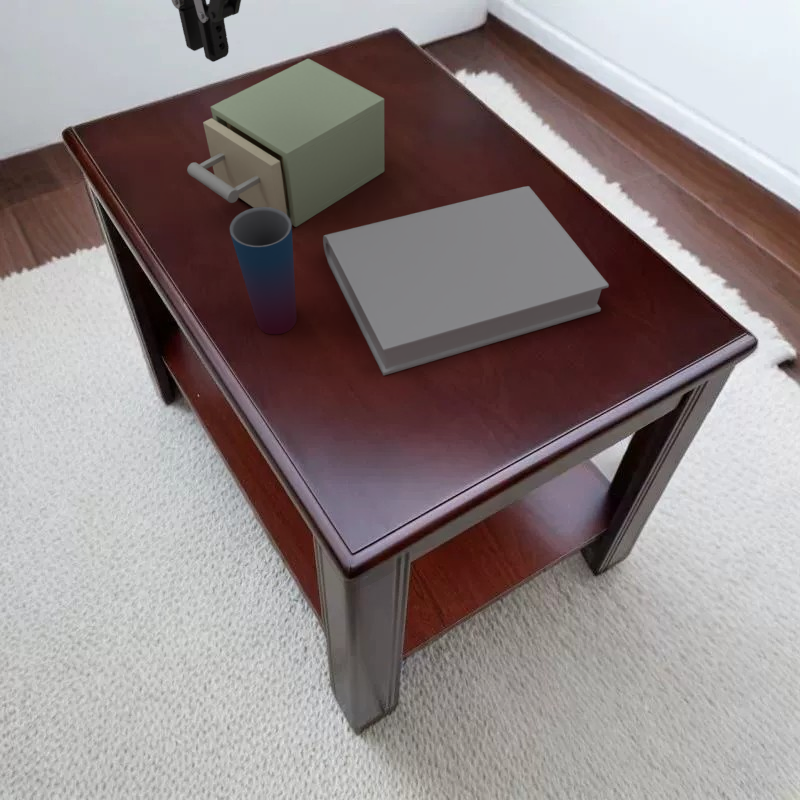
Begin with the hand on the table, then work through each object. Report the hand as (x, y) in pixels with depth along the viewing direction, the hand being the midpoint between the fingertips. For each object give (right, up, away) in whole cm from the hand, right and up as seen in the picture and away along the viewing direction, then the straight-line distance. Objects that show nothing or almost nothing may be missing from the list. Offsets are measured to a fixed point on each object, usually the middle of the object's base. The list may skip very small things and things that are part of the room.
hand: (208, 51), depth 69 cm
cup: (+6, -25, +5) cm, 26 cm away
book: (+24, -21, +9) cm, 33 cm away
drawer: (+4, -8, +17) cm, 19 cm away
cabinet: (+7, -6, +20) cm, 22 cm away
